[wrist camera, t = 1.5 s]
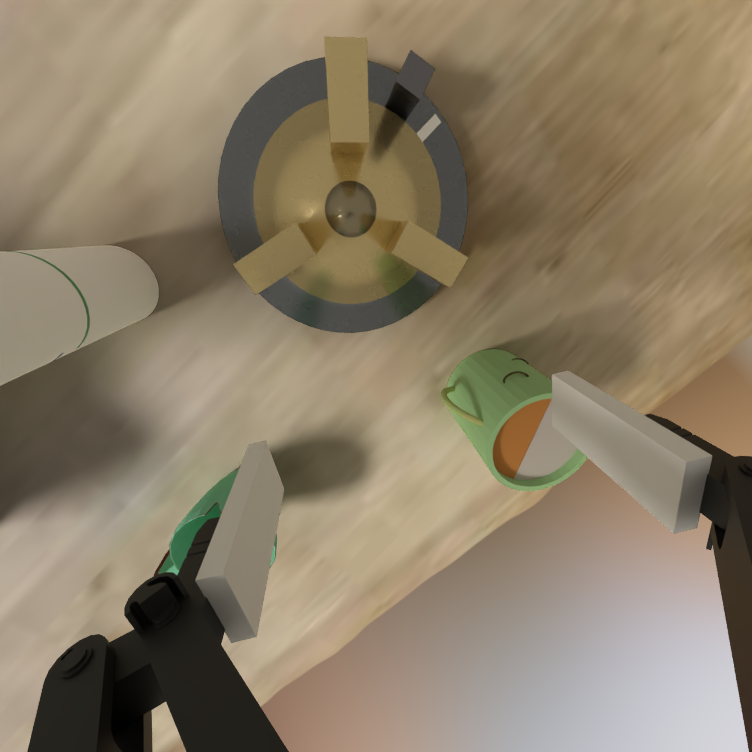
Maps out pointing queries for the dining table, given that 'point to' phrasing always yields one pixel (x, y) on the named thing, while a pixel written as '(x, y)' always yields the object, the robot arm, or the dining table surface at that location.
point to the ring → (259, 126)
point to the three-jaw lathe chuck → (347, 196)
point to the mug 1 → (199, 525)
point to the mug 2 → (510, 420)
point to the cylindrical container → (67, 301)
